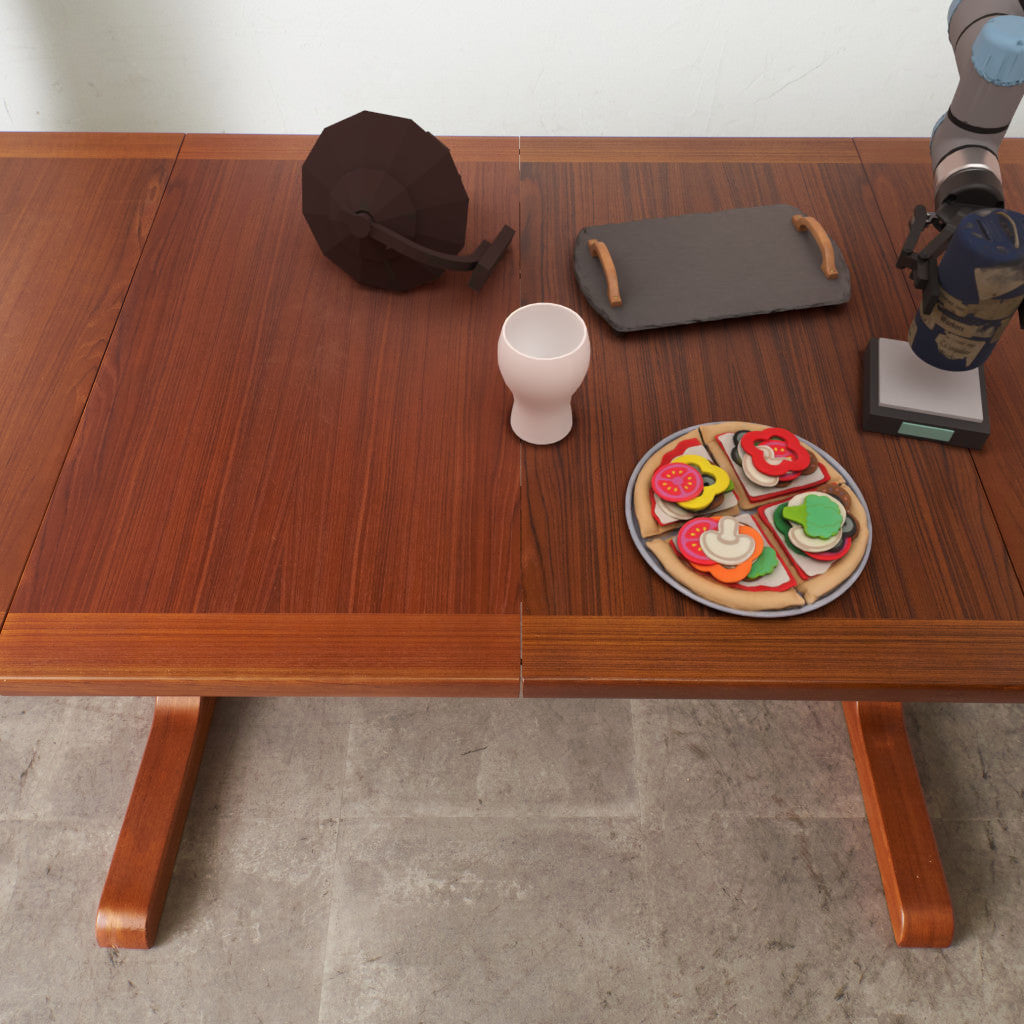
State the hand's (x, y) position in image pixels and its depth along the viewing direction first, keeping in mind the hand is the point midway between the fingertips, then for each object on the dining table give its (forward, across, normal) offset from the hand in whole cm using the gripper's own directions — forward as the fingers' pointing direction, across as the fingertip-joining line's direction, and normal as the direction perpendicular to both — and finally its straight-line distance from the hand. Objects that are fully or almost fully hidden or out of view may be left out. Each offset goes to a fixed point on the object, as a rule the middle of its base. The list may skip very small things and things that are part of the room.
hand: (980, 312), depth 97 cm
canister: (-4, 0, -10) cm, 11 cm away
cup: (+11, +46, -18) cm, 51 cm away
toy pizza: (+20, +20, -18) cm, 33 cm away
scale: (-4, 0, -18) cm, 19 cm away
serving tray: (-22, +29, -18) cm, 41 cm away
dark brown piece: (-17, +70, -18) cm, 74 cm away
